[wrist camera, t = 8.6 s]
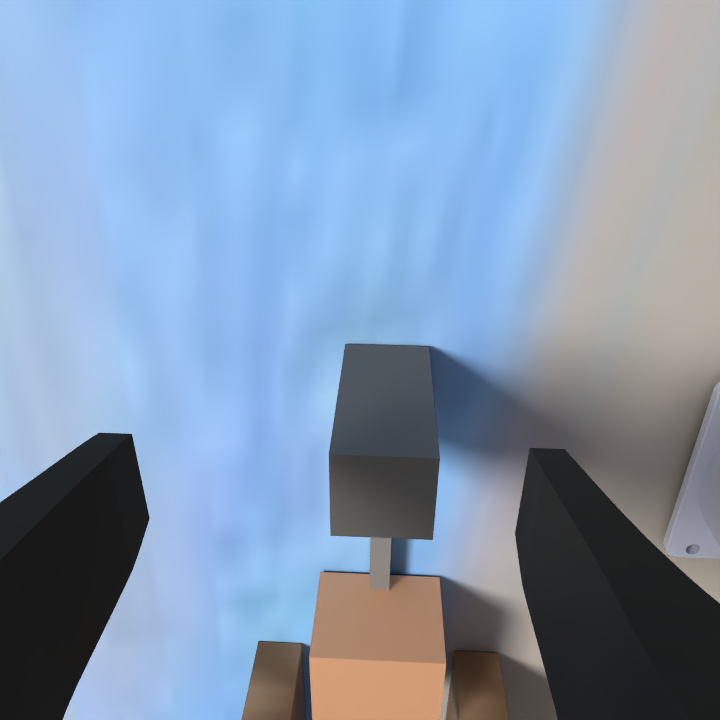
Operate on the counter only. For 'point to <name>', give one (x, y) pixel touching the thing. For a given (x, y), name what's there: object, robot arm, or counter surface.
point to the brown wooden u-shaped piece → (287, 698)
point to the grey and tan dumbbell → (381, 545)
